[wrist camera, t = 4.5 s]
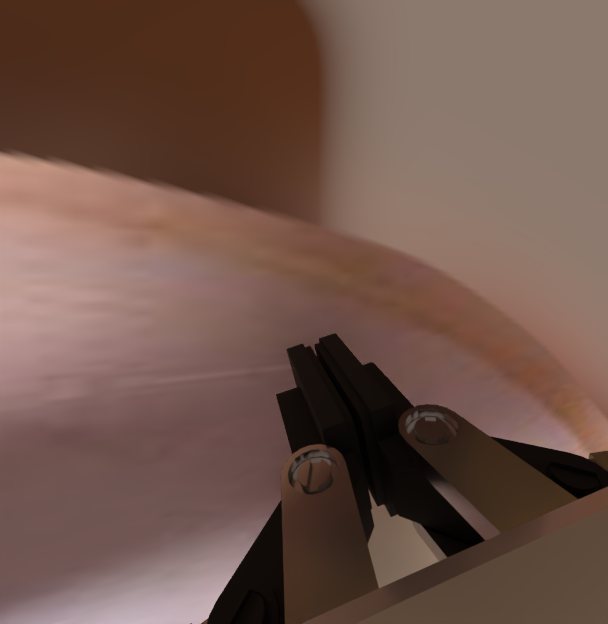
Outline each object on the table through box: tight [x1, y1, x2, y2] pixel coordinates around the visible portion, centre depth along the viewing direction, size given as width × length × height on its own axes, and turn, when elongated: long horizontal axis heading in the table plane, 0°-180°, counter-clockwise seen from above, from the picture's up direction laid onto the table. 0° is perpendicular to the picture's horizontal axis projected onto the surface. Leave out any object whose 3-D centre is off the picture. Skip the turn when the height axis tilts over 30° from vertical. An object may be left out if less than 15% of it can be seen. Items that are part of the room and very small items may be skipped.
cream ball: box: [368, 489, 439, 588], centre depth 12 cm, size 6×6×6 cm
